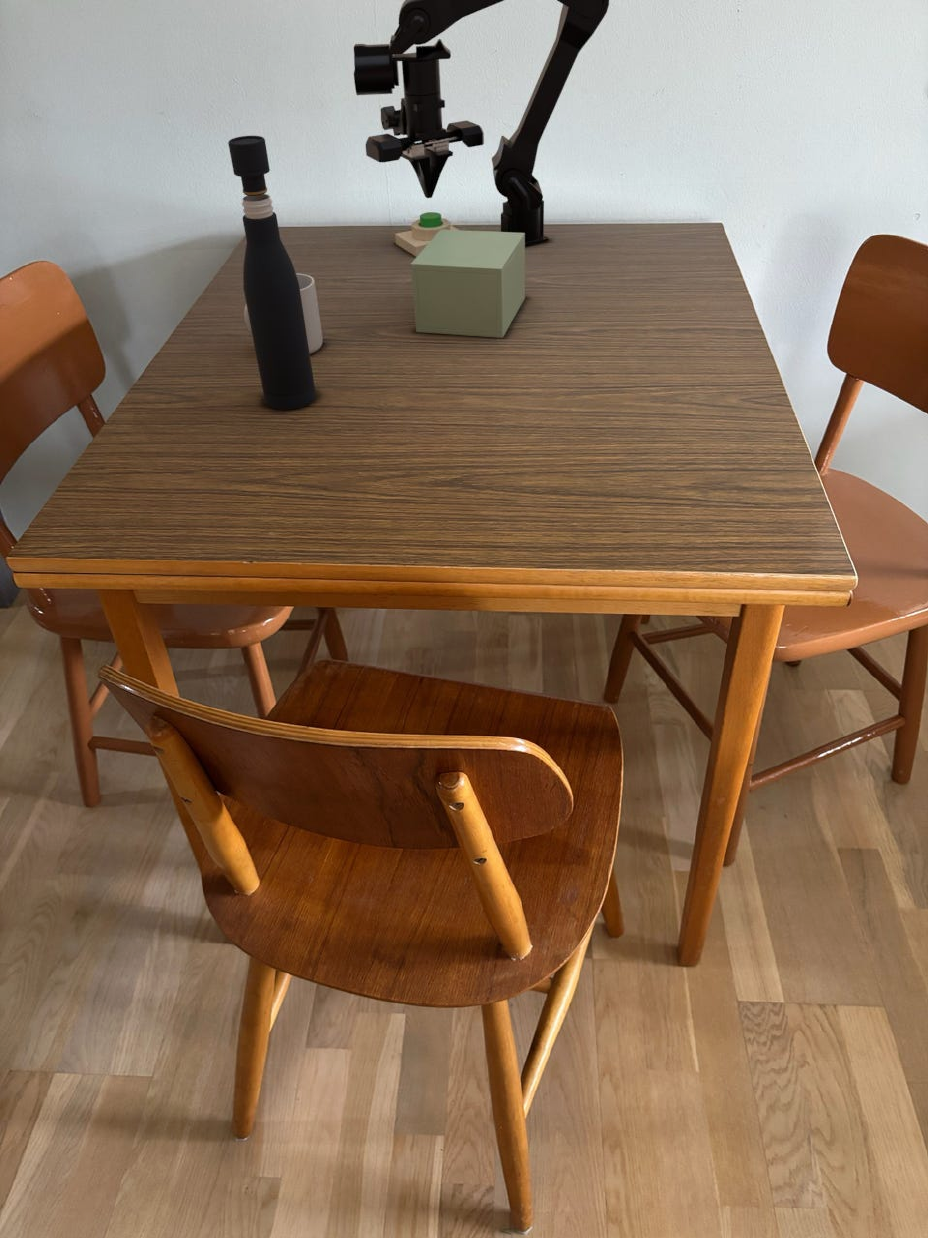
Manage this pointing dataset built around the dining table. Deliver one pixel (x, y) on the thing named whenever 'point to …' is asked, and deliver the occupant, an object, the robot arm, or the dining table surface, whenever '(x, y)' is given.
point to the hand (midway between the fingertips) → (428, 197)
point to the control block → (420, 236)
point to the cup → (305, 312)
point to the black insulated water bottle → (271, 287)
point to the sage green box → (469, 282)
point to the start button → (430, 220)
